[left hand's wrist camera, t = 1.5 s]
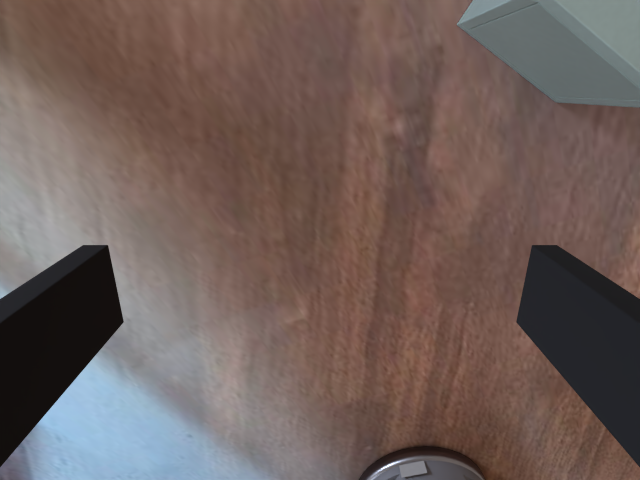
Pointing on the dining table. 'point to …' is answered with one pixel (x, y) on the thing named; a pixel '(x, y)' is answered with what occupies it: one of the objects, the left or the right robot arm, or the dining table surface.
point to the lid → (605, 29)
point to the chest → (548, 53)
